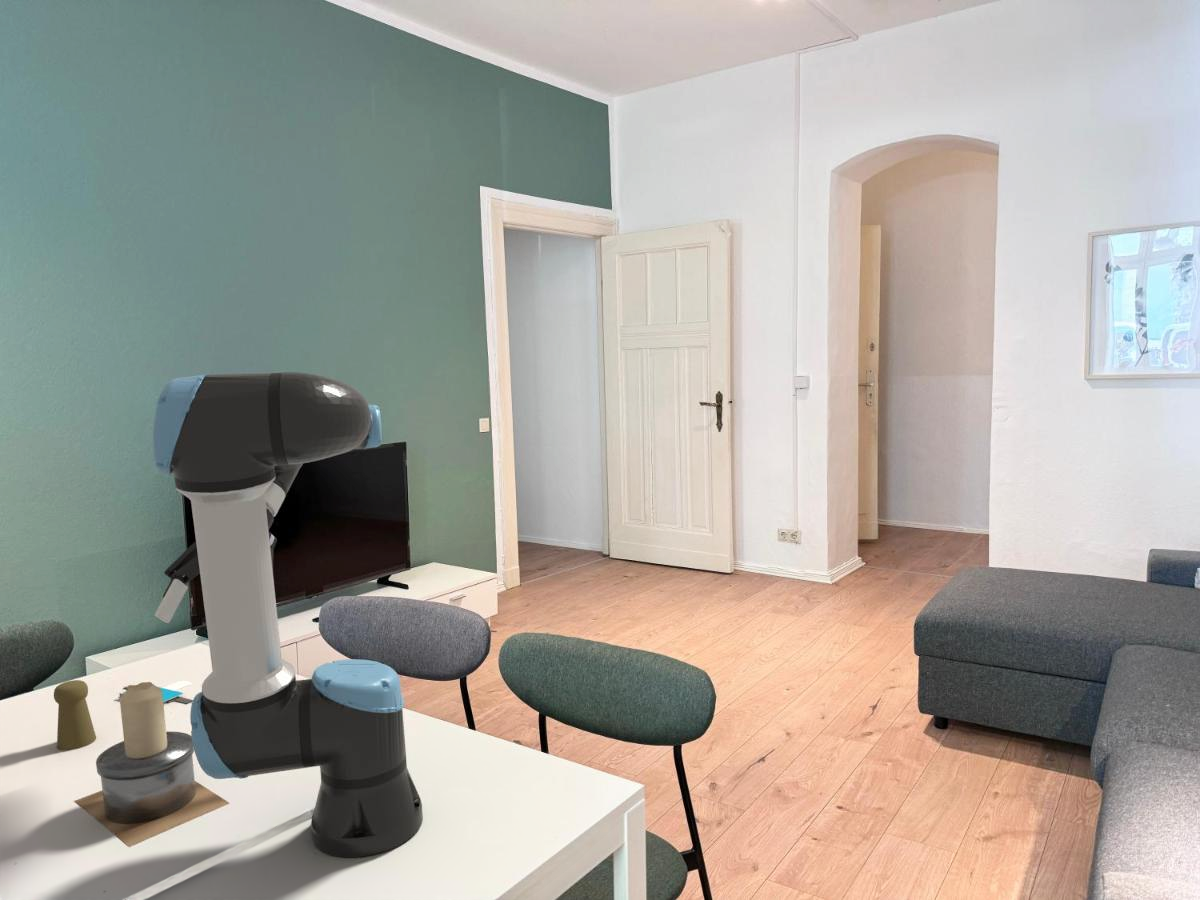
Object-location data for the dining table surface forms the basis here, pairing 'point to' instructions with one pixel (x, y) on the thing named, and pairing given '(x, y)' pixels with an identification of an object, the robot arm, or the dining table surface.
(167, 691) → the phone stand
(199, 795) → the wooden board
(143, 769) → the round metal tin
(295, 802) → the dining table surface
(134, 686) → the candle
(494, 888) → the dining table surface
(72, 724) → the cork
